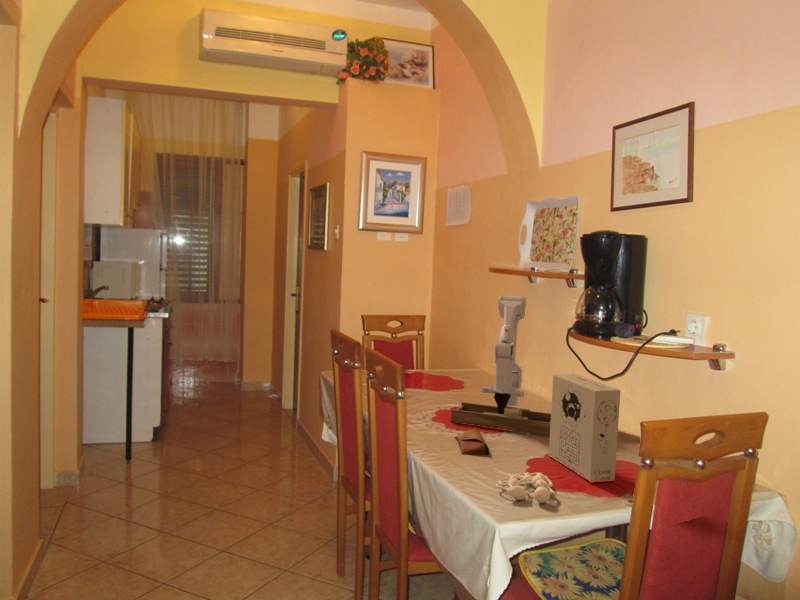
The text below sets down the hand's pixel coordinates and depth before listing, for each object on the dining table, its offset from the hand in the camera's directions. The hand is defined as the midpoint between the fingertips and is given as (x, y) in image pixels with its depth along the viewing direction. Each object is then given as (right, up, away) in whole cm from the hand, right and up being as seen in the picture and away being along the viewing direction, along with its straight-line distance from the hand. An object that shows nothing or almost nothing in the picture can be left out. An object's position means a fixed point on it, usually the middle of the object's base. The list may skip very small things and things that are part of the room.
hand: (501, 414), depth 216 cm
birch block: (+4, -1, -2) cm, 4 cm away
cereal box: (+15, -8, -42) cm, 46 cm away
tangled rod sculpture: (-4, -9, -60) cm, 60 cm away
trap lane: (0, -3, 0) cm, 3 cm away
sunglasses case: (-14, -6, -25) cm, 29 cm away
